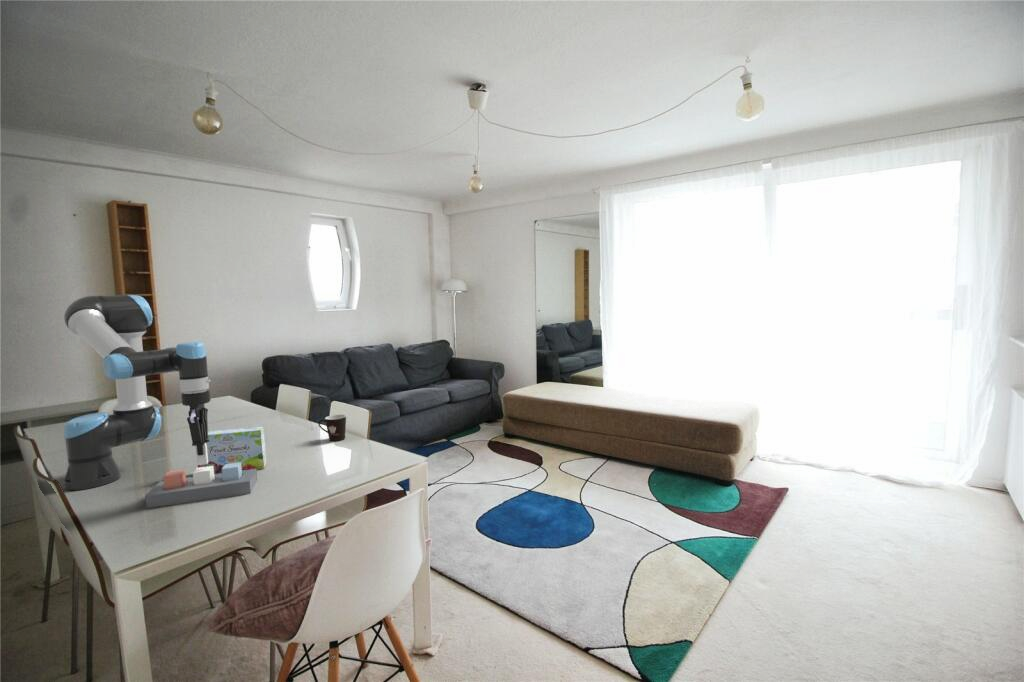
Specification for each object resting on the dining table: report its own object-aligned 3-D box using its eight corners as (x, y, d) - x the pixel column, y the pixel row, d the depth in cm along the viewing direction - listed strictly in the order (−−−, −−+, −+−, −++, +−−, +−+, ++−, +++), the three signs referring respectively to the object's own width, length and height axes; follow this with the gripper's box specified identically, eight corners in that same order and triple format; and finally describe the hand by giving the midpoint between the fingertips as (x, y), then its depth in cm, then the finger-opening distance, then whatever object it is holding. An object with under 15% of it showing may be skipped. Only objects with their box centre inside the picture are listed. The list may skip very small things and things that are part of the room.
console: (146, 508, 145) (145, 495, 145) (161, 493, 156) (160, 481, 156) (250, 493, 154) (249, 481, 154) (257, 479, 165) (256, 468, 165)
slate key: (222, 482, 154) (221, 468, 154) (226, 477, 159) (225, 464, 158) (239, 480, 156) (237, 466, 156) (242, 475, 160) (240, 462, 160)
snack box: (197, 477, 170) (193, 435, 168) (203, 471, 175) (199, 431, 174) (264, 469, 175) (260, 429, 174) (267, 464, 181) (264, 425, 179)
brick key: (164, 490, 149) (162, 476, 149) (169, 484, 154) (168, 471, 153) (181, 487, 151) (180, 474, 150) (186, 482, 155) (184, 469, 155)
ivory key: (194, 486, 152) (192, 472, 152) (198, 480, 156) (197, 467, 156) (210, 483, 153) (209, 470, 153) (214, 478, 158) (213, 465, 157)
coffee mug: (351, 438, 211) (350, 415, 210) (335, 443, 204) (333, 420, 203) (334, 434, 217) (333, 412, 216) (318, 439, 210) (316, 417, 209)
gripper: (203, 393, 147) (210, 468, 149) (214, 386, 159) (221, 456, 162) (174, 396, 145) (182, 472, 147) (188, 388, 157) (195, 459, 159)
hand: (202, 463), depth 154 cm, fingers closed
